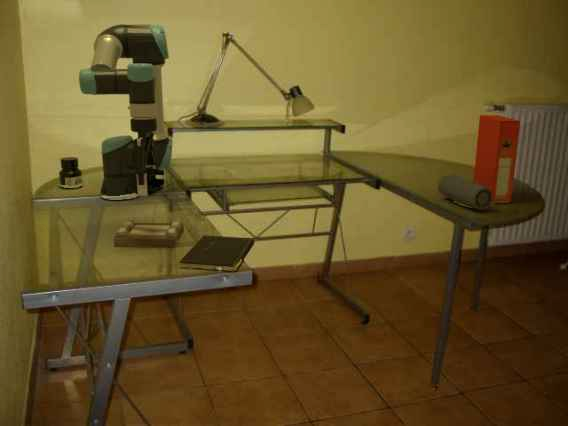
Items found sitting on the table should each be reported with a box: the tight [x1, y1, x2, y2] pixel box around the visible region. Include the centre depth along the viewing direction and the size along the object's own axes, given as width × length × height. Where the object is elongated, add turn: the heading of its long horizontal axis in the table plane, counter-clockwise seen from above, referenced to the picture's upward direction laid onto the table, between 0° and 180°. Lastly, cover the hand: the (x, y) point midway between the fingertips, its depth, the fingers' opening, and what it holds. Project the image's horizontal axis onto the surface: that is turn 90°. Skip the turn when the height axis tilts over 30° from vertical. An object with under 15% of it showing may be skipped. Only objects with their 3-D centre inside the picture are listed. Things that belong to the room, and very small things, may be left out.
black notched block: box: [128, 166, 165, 197], centre depth 176 cm, size 10×7×7 cm
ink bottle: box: [58, 156, 84, 186], centre depth 241 cm, size 10×9×12 cm
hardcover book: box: [178, 234, 255, 269], centre depth 168 cm, size 16×23×2 cm
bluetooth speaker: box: [437, 174, 493, 210], centre depth 222 cm, size 23×9×10 cm, turn 20°
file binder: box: [472, 114, 521, 202], centre depth 228 cm, size 8×17×32 cm, turn 7°
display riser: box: [113, 219, 185, 248], centre depth 181 cm, size 16×18×4 cm
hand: (147, 190), depth 177 cm, fingers closed on black notched block, 11 cm apart
